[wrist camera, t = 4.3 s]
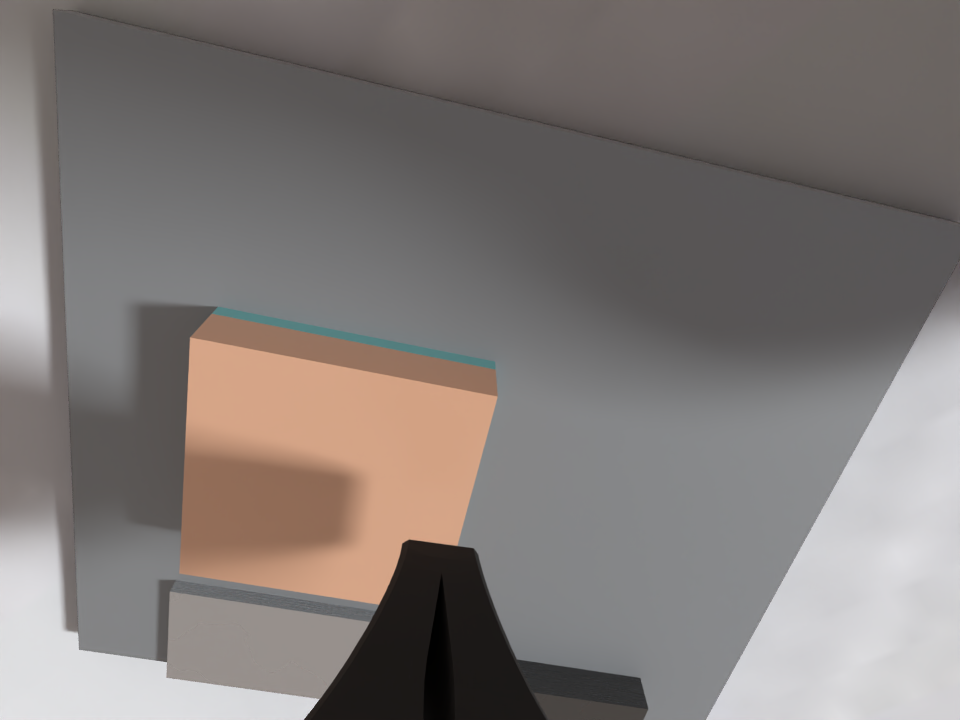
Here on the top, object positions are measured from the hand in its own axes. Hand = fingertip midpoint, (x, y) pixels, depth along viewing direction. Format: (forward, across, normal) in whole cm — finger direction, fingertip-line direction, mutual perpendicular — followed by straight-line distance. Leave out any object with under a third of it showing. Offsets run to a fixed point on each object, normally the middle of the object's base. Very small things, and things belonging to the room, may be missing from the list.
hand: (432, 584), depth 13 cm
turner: (+4, 0, +6) cm, 8 cm away
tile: (+3, -1, 0) cm, 3 cm away
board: (+4, 0, 0) cm, 4 cm away
